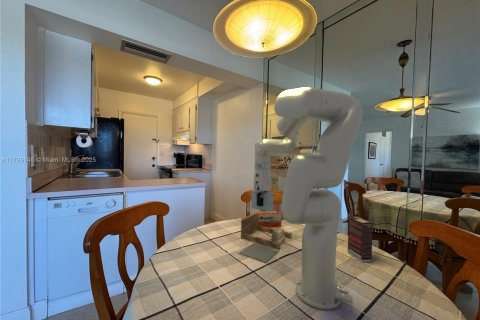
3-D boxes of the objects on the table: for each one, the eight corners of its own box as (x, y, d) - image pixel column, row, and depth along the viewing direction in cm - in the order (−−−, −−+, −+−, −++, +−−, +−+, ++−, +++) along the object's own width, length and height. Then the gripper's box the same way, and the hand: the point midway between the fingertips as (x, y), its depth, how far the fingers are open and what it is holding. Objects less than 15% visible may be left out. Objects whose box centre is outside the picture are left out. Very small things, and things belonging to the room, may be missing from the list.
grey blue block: (273, 209, 93) (273, 192, 93) (269, 211, 91) (269, 193, 91) (254, 207, 99) (255, 191, 99) (251, 208, 96) (251, 191, 96)
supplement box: (372, 261, 80) (373, 222, 80) (361, 262, 79) (362, 222, 79) (356, 251, 88) (357, 216, 88) (346, 252, 87) (347, 216, 87)
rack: (291, 238, 102) (292, 218, 102) (279, 249, 89) (279, 227, 88) (256, 229, 114) (257, 211, 114) (240, 238, 100) (241, 218, 100)
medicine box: (275, 222, 126) (275, 210, 126) (281, 227, 119) (281, 213, 119) (253, 224, 122) (253, 211, 122) (258, 229, 114) (258, 215, 114)
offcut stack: (285, 240, 100) (285, 228, 100) (278, 245, 93) (279, 232, 93) (277, 238, 102) (277, 226, 102) (270, 243, 95) (271, 231, 95)
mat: (278, 251, 87) (278, 250, 87) (266, 263, 77) (266, 262, 77) (252, 243, 94) (253, 243, 94) (238, 253, 84) (238, 252, 84)
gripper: (261, 167, 86) (260, 209, 86) (276, 166, 100) (276, 203, 99) (246, 166, 90) (246, 207, 90) (263, 166, 104) (263, 201, 104)
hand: (262, 204), depth 95 cm, fingers closed on grey blue block, 3 cm apart
